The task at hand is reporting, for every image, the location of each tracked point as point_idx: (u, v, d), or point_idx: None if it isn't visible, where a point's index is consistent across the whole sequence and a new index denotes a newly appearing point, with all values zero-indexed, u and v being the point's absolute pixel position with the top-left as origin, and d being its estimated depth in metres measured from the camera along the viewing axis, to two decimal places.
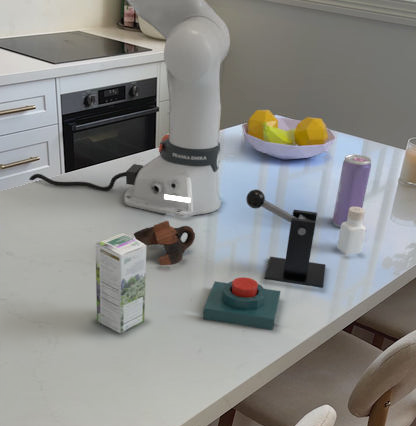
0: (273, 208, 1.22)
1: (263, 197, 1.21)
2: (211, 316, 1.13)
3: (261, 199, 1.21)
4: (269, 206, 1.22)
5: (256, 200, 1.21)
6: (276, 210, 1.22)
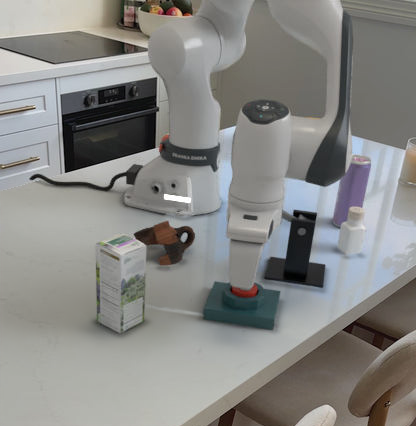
0: None
1: None
2: (211, 316, 1.13)
3: None
4: None
5: None
6: None
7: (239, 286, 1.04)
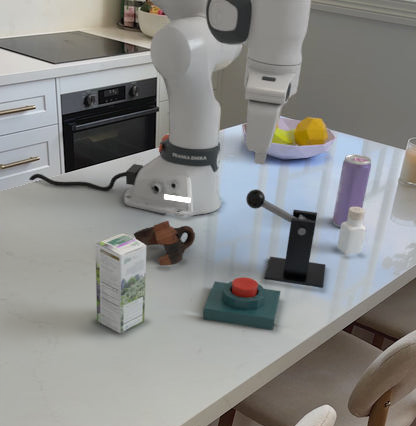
0: (273, 208, 1.22)
1: (263, 197, 1.21)
2: (211, 316, 1.13)
3: (261, 199, 1.21)
4: (269, 206, 1.22)
5: (256, 200, 1.21)
6: (276, 210, 1.22)
7: (255, 149, 1.06)
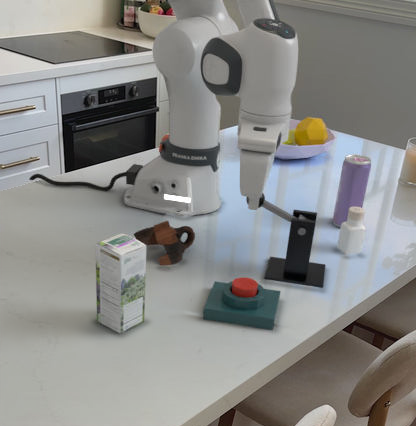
0: (273, 208, 1.22)
1: (263, 197, 1.21)
2: (211, 316, 1.13)
3: (261, 199, 1.21)
4: (269, 206, 1.22)
5: None
6: (276, 210, 1.22)
7: (249, 195, 1.12)
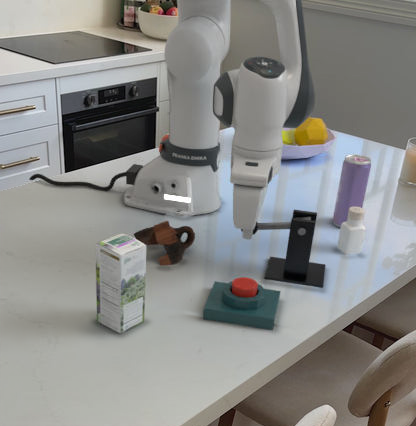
0: (268, 226, 1.24)
1: None
2: (211, 316, 1.13)
3: None
4: (264, 226, 1.24)
5: None
6: (272, 225, 1.24)
7: (242, 227, 1.15)
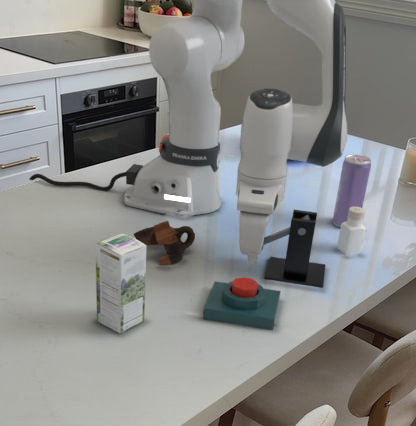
0: (271, 238, 1.25)
1: None
2: (211, 316, 1.13)
3: None
4: (267, 239, 1.26)
5: None
6: (274, 236, 1.25)
7: (248, 253, 1.18)
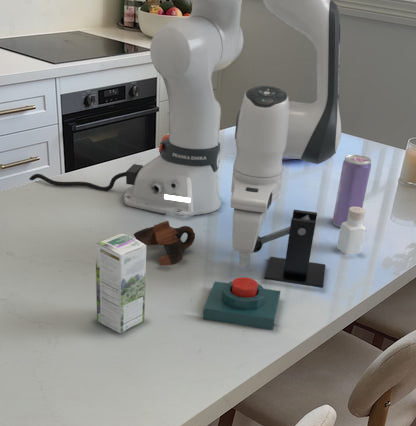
0: (270, 237, 1.25)
1: None
2: (211, 316, 1.13)
3: None
4: (266, 238, 1.25)
5: None
6: (273, 235, 1.25)
7: (241, 251, 1.18)
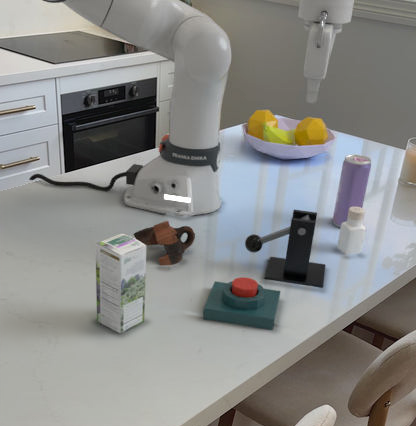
0: (270, 237, 1.25)
1: (256, 237, 1.26)
2: (211, 316, 1.13)
3: (255, 240, 1.26)
4: (266, 238, 1.25)
5: (252, 244, 1.26)
6: (273, 235, 1.25)
7: None
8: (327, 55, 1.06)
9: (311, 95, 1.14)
